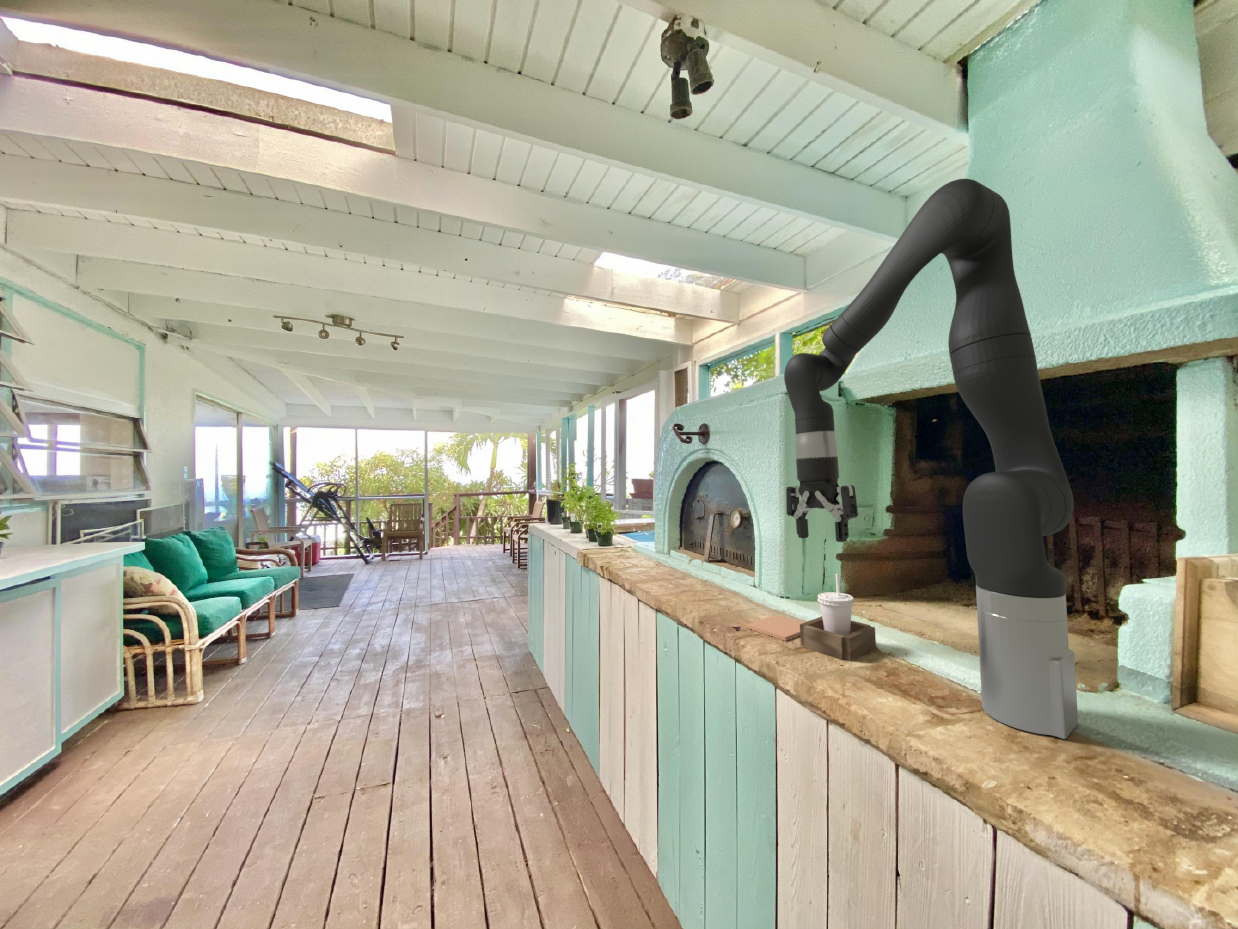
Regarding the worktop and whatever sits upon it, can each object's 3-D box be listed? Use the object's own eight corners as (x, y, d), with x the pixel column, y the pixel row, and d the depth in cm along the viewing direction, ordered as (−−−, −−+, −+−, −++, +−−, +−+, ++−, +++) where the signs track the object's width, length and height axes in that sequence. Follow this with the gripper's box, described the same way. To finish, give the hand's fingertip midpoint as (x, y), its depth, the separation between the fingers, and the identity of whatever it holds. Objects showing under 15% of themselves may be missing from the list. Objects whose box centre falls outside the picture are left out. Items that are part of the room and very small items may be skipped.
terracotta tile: (815, 630, 98) (814, 626, 98) (785, 641, 92) (785, 637, 92) (775, 618, 106) (775, 615, 106) (746, 628, 101) (746, 624, 101)
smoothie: (862, 653, 85) (859, 577, 85) (828, 654, 85) (824, 578, 86) (846, 640, 92) (843, 569, 92) (814, 641, 92) (810, 570, 92)
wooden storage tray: (877, 648, 87) (876, 626, 87) (848, 662, 82) (847, 639, 82) (828, 633, 96) (827, 614, 96) (798, 645, 90) (797, 625, 90)
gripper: (862, 453, 86) (868, 541, 85) (799, 458, 98) (804, 534, 98) (836, 453, 82) (842, 545, 81) (774, 458, 94) (779, 538, 94)
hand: (821, 539), depth 89 cm, fingers open, 8 cm apart
